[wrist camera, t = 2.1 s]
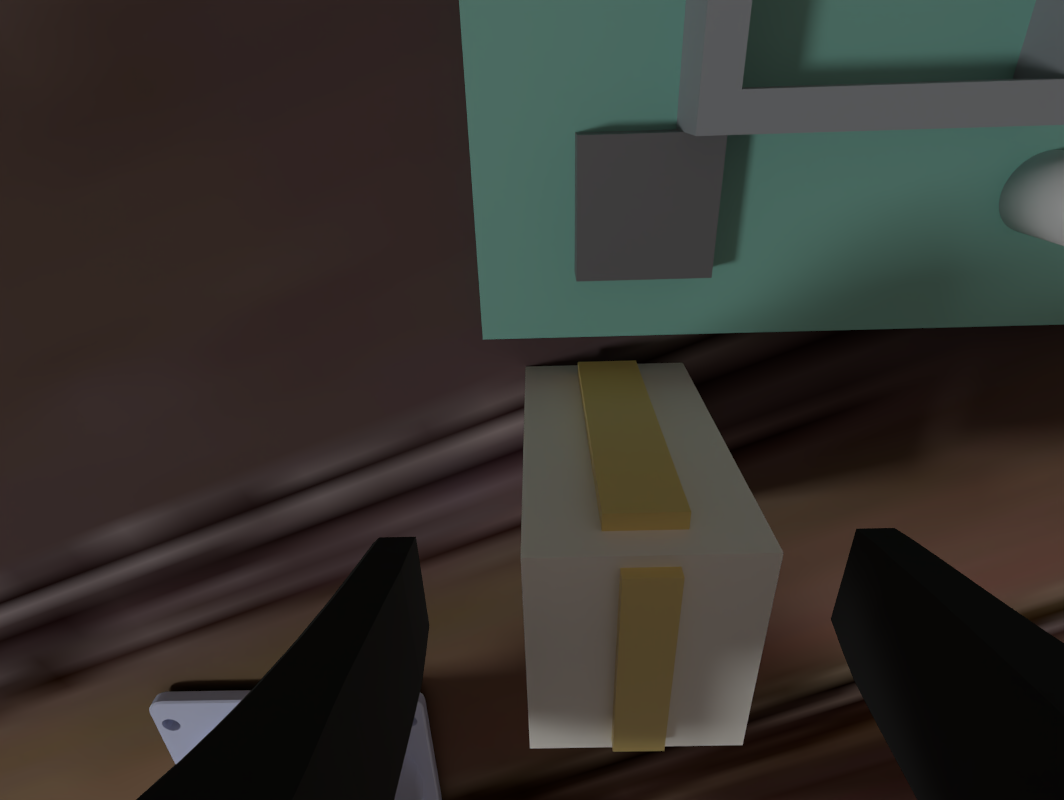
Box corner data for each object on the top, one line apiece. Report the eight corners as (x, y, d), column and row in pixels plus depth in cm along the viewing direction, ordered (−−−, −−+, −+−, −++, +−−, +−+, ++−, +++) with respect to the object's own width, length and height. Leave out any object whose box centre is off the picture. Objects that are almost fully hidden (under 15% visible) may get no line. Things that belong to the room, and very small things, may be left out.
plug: (668, 510, 15) (746, 757, 10) (531, 513, 15) (530, 760, 10) (683, 349, 13) (793, 545, 8) (525, 353, 13) (519, 550, 8)
